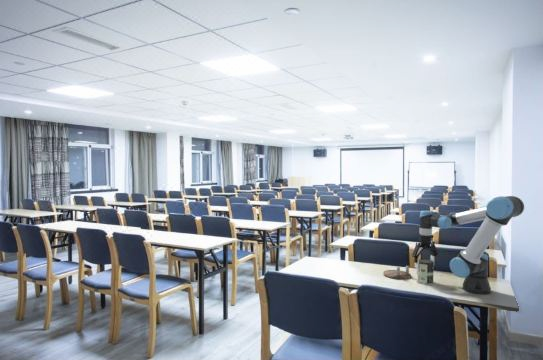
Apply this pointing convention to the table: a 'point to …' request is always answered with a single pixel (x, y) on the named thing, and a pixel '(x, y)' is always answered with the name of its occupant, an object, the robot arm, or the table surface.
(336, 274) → the table surface
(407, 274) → the locating disc
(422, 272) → the coffee can
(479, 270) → the robot arm
